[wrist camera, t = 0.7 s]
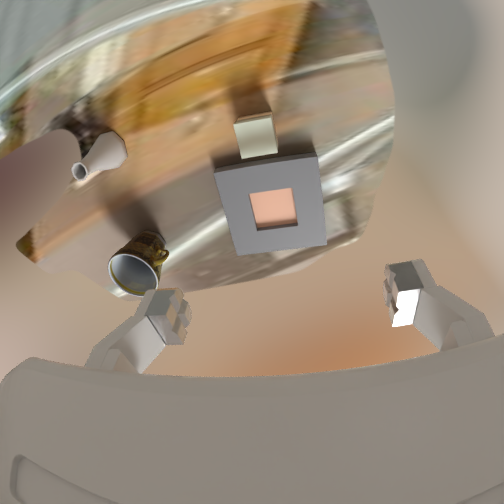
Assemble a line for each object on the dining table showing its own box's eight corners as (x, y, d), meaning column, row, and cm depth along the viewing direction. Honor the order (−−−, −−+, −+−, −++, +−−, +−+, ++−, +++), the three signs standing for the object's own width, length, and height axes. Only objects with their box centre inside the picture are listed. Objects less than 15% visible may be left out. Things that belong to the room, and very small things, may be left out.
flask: (106, 175, 48) (77, 200, 40) (88, 143, 45) (55, 163, 37) (134, 158, 46) (106, 181, 38) (115, 123, 42) (82, 140, 34)
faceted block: (239, 117, 41) (233, 124, 36) (271, 111, 40) (270, 117, 35) (246, 147, 44) (241, 158, 39) (278, 141, 43) (277, 152, 38)
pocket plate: (216, 167, 46) (213, 173, 44) (315, 152, 43) (317, 156, 41) (239, 247, 55) (237, 255, 53) (325, 237, 52) (326, 244, 50)
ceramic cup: (149, 269, 61) (132, 302, 53) (120, 234, 56) (97, 265, 48) (195, 248, 56) (182, 283, 48) (165, 207, 52) (145, 238, 44)
